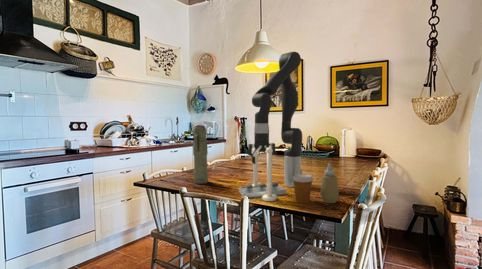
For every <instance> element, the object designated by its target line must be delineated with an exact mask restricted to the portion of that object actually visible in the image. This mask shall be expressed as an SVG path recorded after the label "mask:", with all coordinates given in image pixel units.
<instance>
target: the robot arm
mask: <svg viewBox="0 0 482 269" xmlns="http://www.w3.org/2000/svg"><path fill="white" fill-rule="evenodd" d="M278 58H279V60H278V68H279V69H278V70H277V71H276V72H275V73H273V74H272V75H271V76H270V77H269V79H268V80H267V81H266V82H265V83H264V85H263V86H262V87H261V88H259V90H257V91H256V92H255V93H254V94H253V95H252V97H251V103H252V106H253V107H255V108H259V111H257V112H256V113H255V114H254V127H253V128H254V130H253V131H254V132H253V134H254V143H248V147H247V155H248V156H250V157H251V163H252V165H253V164H255V155H256V154H257V155H258V153H262V152H263V153H266V149H267V148H272V150H273V152H272V156H274V155H276V152H277V151H276V144H275V143H274V142H271V143H270V125H269V115H270V112H271V111H270V110H271V107H272V97H271V96H273V95H275V94H276V92H277V91H278V90H279V88H281V132H280V135H281V136H280V138H281V141H282V142H283V143H284V144H287V145H291V147H290V148H289V149H286V150H285V151H284V152H283V153H284V155H283V157H284V159H283V160H284V163H283V164H284V165H283V166H284V168H283V170H284V172H283V173H284V178H283V180H284V183H283V184H284V185H283V186H285V187H286V188H294V181H293V175H295V174H303V169H302V166H301V164H302V163H301V161H302V156H301V155H302V149H303V131H302V129H300V128H298V127H292V120H293V116H294V114H295V113H296V111H297V108H298V106H299V93H298V90H297V87H296V86H295V84H294V83H293V81H292V78H291V74H292V73H293V72H295V70H297V69H298V68H299V66H300V65H301V62H302V57H301V55H300V53H299V52H297V51H290V52H286V53H282V54H281V55H280V56H279V57H278ZM253 146H254V147H255V150H254V151H253Z"/></svg>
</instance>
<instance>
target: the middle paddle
mask: <svg viewBox="0 0 482 269" xmlns="http://www.w3.org/2000/svg"><path fill="white" fill-rule="evenodd" d="M258 185H259V188H265V187H266V185H267V184H265V182H260V183H258Z"/></svg>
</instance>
